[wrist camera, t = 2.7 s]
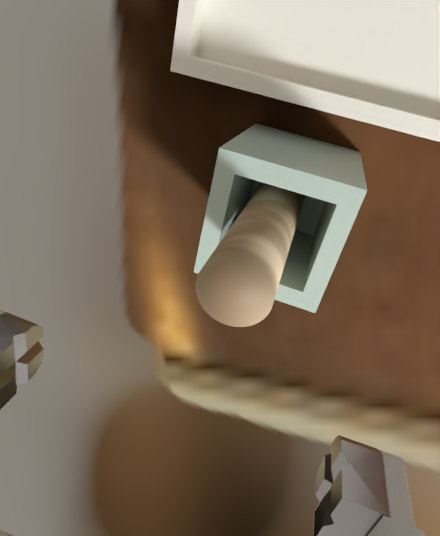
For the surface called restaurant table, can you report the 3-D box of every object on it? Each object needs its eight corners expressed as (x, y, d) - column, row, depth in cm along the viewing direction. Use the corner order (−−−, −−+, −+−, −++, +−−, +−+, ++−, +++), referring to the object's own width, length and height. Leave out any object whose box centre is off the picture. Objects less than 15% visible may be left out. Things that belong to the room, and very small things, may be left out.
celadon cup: (360, 151, 25) (367, 190, 17) (323, 246, 28) (315, 313, 21) (256, 123, 26) (219, 147, 18) (233, 217, 29) (193, 272, 22)
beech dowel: (312, 174, 25) (284, 272, 13) (298, 216, 27) (261, 337, 15) (268, 162, 26) (203, 246, 14) (257, 203, 27) (189, 311, 15)
